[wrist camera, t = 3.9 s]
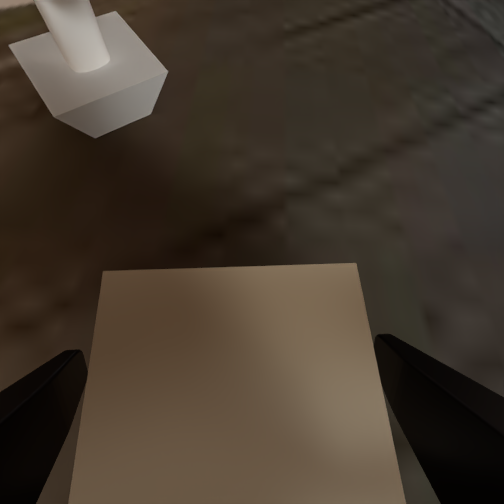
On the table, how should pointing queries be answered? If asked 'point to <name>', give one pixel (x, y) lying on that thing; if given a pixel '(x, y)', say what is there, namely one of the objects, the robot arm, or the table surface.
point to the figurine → (90, 68)
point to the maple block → (234, 391)
